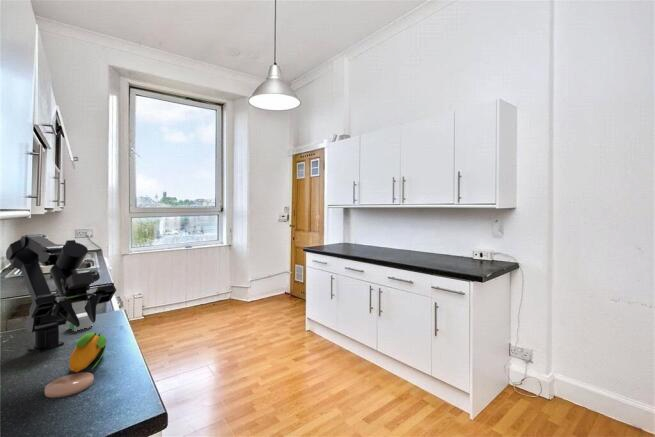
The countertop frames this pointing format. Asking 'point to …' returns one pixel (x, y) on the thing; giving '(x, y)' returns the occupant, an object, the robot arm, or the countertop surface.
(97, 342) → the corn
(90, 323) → the small box
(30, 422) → the countertop surface
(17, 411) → the countertop surface
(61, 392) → the pink flat disc
